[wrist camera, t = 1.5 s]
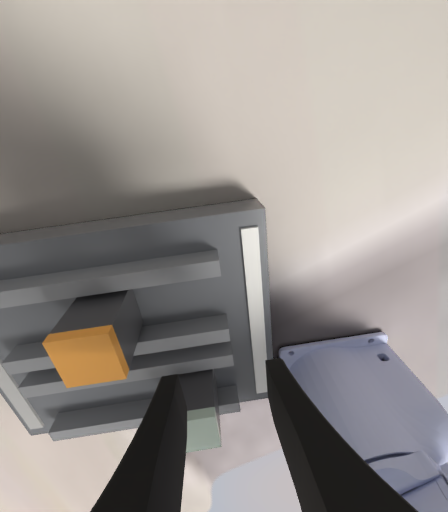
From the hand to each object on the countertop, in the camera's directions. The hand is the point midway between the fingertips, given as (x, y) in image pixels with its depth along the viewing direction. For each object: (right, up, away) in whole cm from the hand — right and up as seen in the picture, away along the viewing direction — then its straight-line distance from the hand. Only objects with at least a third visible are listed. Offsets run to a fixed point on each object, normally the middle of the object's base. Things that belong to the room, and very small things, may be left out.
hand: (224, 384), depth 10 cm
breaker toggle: (-7, +2, +6) cm, 9 cm away
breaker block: (-7, 0, +10) cm, 12 cm away
